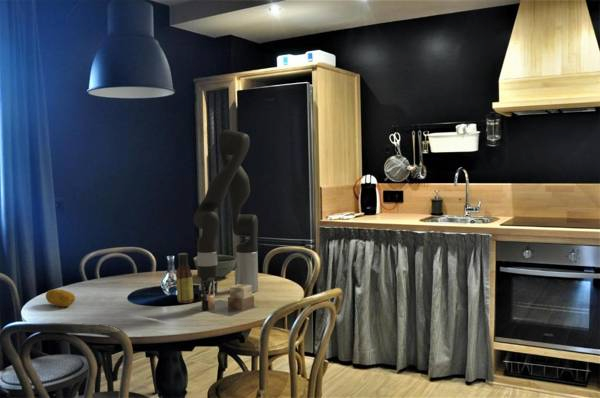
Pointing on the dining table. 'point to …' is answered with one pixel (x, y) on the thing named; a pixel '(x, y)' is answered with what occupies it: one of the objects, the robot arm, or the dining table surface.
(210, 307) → the pink cube
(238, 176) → the robot arm
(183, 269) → the sauce bottle
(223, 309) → the slate board
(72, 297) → the potato
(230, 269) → the bowl
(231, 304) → the walnut block
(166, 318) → the dining table surface
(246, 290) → the birch block
